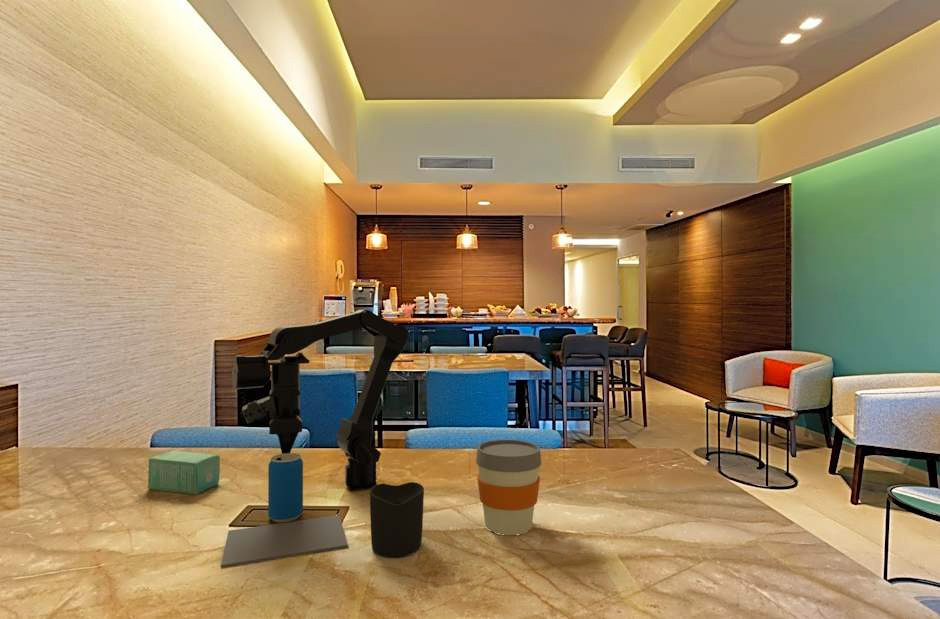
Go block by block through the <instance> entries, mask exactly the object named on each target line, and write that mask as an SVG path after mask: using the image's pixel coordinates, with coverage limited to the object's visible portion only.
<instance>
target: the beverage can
mask: <svg viewBox="0 0 940 619" xmlns="http://www.w3.org/2000/svg"><path fill="white" fill-rule="evenodd" d="M301 457H302V456H301V454H299V453H294V452H290V453H285V454H282V453H279V454H276V455H273V456H271V458H270V461H269V464H268V484H267V485H268V486H267V487H268V493H267V494H268V496H267V498H268V501H267V502H268V507H267V509H268V512H267V513H268V518H269V519H271V520H272V521H273V522H275V523H287V522H294V521H295V520H296V519H299V517H300V516H301V515H302V514H303V513H304V462H303V459H302V458H301Z"/></svg>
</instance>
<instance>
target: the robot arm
mask: <svg viewBox="0 0 940 619" xmlns="http://www.w3.org/2000/svg"><path fill="white" fill-rule="evenodd" d="M358 329H362V330H364V331H365V332H366V333H367V334H369V335H370V336H373V337H374V341H373V358H372V362H371V364H370V367H369V370H368V373H367V375H366V378H365V381H364V384H363V385H362V390H361V392H360V394H359V397H358V400H357V403H356V405H355V409H354V412H353V413H352V415H350V417H349V418H348V419H346V418H344V417H343V418H341V421H340V426H339V428H338V430H337V432H336V433H335V436H337V439H336V442H337V446H338V447H339V449H340V450H341V451H343V452H344V454H345V456H346V457H347V464H346V465H344V483H345V485H346V487H347V488H348V490H349V491H350V492H351V491H353V492H354V491H359V490H368V489H369V490H370V489H371V488H372V487H373V486H375V485H378V483H377V462H379V460H380V458H381V456H382V455H381V454H382V453H381V451H380V450H378V449H377V448H376V446H374V444H372V440H373V437H374V436H373V434H374V427H373V425H374V422H373V421H374V420H373V419H374V416H375V413H376V411H377V409H378V405H379V402H380V399H381V397H382V393H383V391H384V388H385V385H386V382H387V379H388V377H389V373H390V371H391V368H392V365H393V363H394V362H395V360H396V359H397V358H398V357H399V356H400V355H401V354H402V352H403V351H404V349H405V346H406V344H407V342H408V340H409V333H408V330H407V328H405V326H403V325H402V324H398V323H393V322H391V321H389V320H387V319H385V318H383V317H381V316H379V315H377V314H376V313H374V312H373V311H372V310H369V309H358V310H356V311H354V312H350V313H347V314H344V315H340V316H335V317H332V318H329V319H324V320H321V321H318V322H314V323H310V324H298V325H297V324H295V325H286V326H279V327H276V328H274V329H273V330H272V331H271V332H270V334H269V337H268V343H267V344H266V345H265V347H264V348H263V349H262V350H261V352H260V353H259V354H258V355H235V356H234V362H233V365H232V366H233V369H232V370H231V381H232V387H233V389H234V390H241V389H244V390H245V389H255V388H264V387H265V386H266V384H268V383H269V382H271V390H269V396H266V397H264V398H261V399H258V400H253V401H252V402H248V403H247V404H246V405H243V406H242V409H241V411H242V414H243V417H244V419H245V421H246V423H247V424H251V423H254V422H255V420H259V419H261V418H263V417H266V416H268V415H269V418H270V421H269V433H268V434H269V435H276V436H277V437H278V441H279V446H280V450H281V454H285V453H292V449H293V446H294V444H295V442H296V439H297V436H298V434H299V433H302V432H303V420H302V418H301V417H300V416H301V415H300V414H301V408H300V403H301V402H300V398H301V397H300V396H301V389H300V387H301V386H300V385H301V384H300V378H301V377H300V375H301V374H300V369H301V367H300V365H301V364H304V365H305V364H310V359H309V358H307V357H306V356H305V355H304V354H303V352H301V351H302V350H304V349H307V348H308V347H310V346H311V345H313V344H315V343H317V342H318V341H321V340H324V339H327V338H332V337H334V336H338V335H342V334H344V333H348V332H351V331H352V332H353V331H354V330H358ZM294 354H295V355H294ZM286 355H287V356H286Z"/></svg>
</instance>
